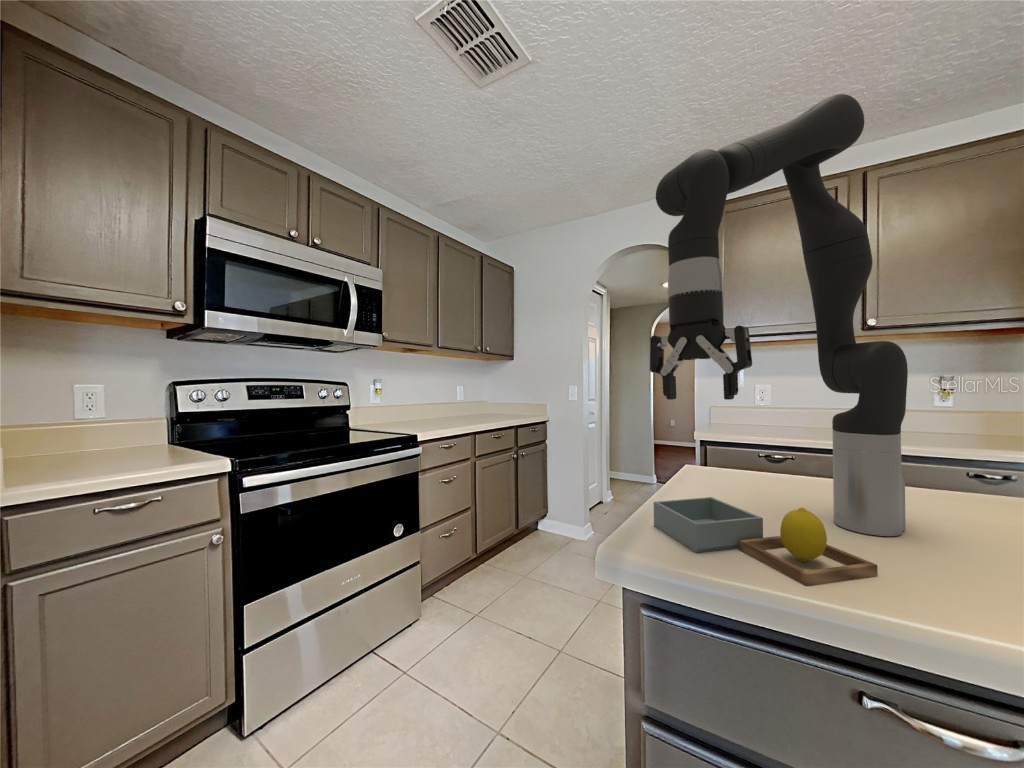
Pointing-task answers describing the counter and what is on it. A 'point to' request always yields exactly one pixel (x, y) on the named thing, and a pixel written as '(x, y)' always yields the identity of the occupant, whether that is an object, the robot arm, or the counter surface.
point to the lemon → (803, 534)
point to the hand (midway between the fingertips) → (698, 399)
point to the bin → (706, 523)
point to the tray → (812, 577)
